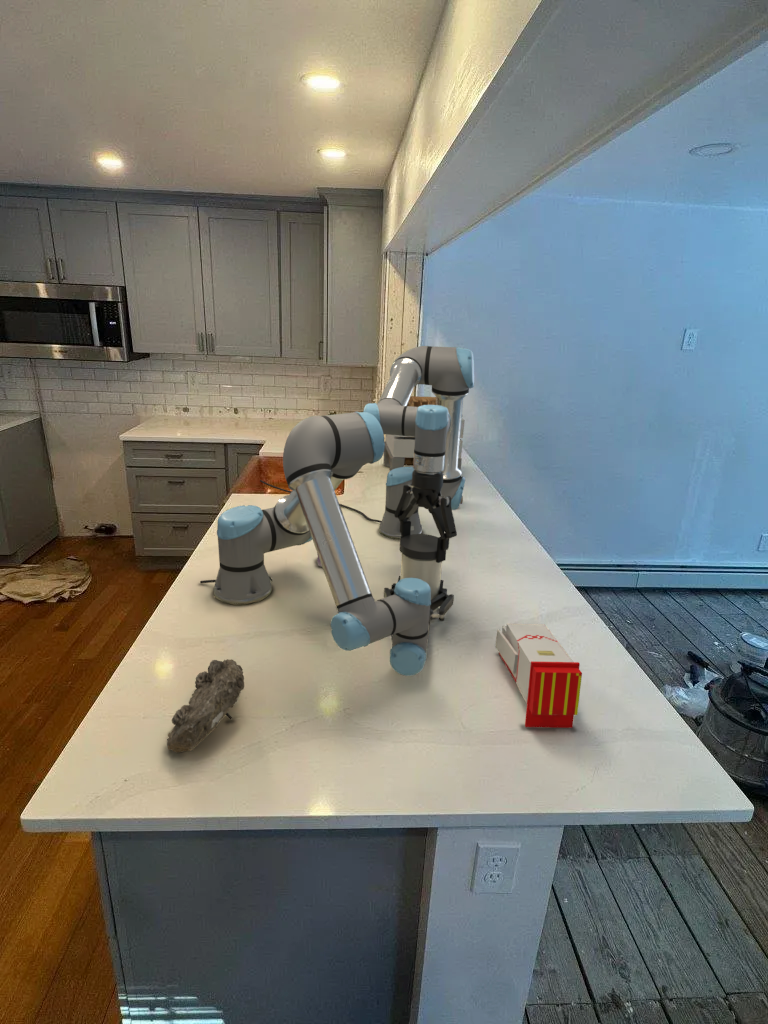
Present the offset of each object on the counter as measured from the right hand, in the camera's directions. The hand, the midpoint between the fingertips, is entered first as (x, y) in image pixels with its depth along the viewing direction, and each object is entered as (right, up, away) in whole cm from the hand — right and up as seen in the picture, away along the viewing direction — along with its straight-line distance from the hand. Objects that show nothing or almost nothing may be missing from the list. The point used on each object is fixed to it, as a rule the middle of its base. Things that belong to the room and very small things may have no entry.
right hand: (422, 553), depth 144 cm
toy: (+21, -27, -22) cm, 41 cm away
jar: (-1, -16, +6) cm, 17 cm away
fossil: (-42, -29, -36) cm, 63 cm away
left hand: (0, -8, +7) cm, 11 cm away
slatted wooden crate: (+8, +29, +131) cm, 134 cm away
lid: (0, +2, -1) cm, 3 cm away
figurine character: (+19, +14, +89) cm, 92 cm away
